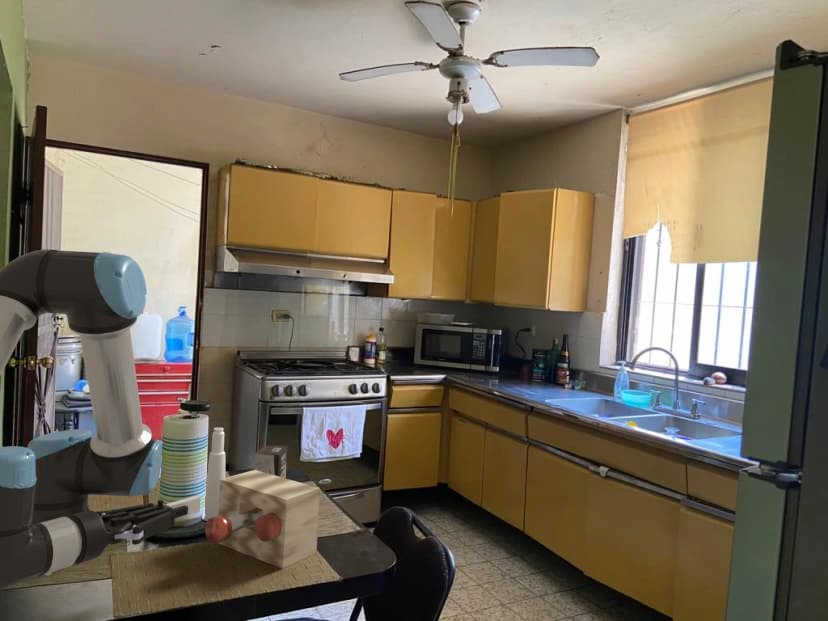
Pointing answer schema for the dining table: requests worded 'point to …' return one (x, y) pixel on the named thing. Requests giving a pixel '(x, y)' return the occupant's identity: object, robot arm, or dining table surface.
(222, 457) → the cosmetic bottle
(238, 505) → the block
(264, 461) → the coffee box
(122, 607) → the dining table surface
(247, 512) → the knob
